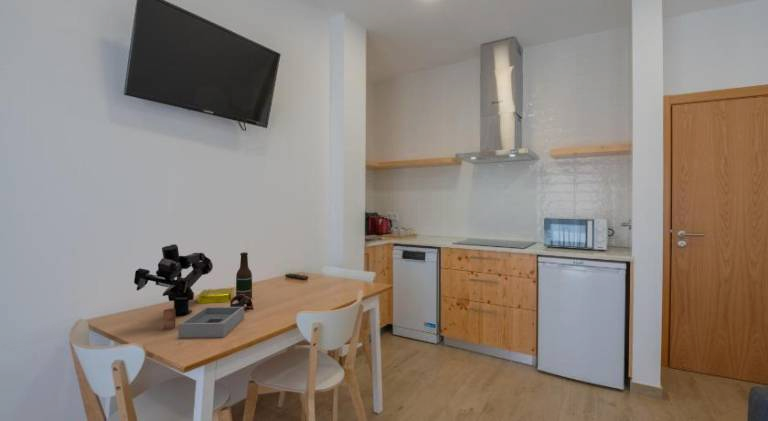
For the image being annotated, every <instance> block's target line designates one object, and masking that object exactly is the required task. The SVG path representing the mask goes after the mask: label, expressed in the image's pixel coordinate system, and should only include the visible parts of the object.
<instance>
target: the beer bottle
mask: <svg viewBox="0 0 768 421" xmlns="http://www.w3.org/2000/svg"><path fill="white" fill-rule="evenodd" d="M248 256H249V253H248V252H245V251H243V252H240V263H239V264H240V265H239V269H238V270H237V272H236V274H235V275H236V277H235V296H237V295H239V294H244V295H245V296H248V297H249V298H250V299H251V298H252V299H253V273H252V271H251V269H250V268H249V258H248ZM252 299H251V300H252Z"/></svg>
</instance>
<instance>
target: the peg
mask: <svg viewBox="0 0 768 421" xmlns="http://www.w3.org/2000/svg"><path fill="white" fill-rule="evenodd" d="M173 329H176V316H175V309H174V308H167V309H165V310H163V330H164V331H165V330H166V331H169V330H173Z"/></svg>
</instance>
